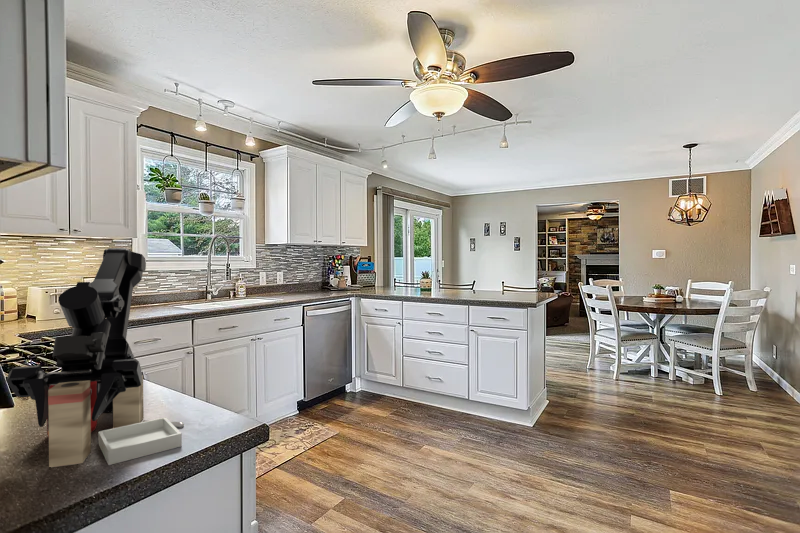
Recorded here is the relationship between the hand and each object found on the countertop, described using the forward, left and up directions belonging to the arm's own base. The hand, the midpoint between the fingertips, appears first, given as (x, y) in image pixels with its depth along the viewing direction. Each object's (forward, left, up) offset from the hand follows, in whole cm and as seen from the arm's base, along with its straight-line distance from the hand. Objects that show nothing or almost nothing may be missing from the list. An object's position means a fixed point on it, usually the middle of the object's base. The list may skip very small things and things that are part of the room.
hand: (67, 422), depth 72 cm
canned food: (-10, +12, -7) cm, 17 cm away
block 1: (-1, +1, -7) cm, 7 cm away
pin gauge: (+5, +17, -7) cm, 19 cm away
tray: (+7, +8, -7) cm, 12 cm away
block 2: (-3, +18, -7) cm, 19 cm away
